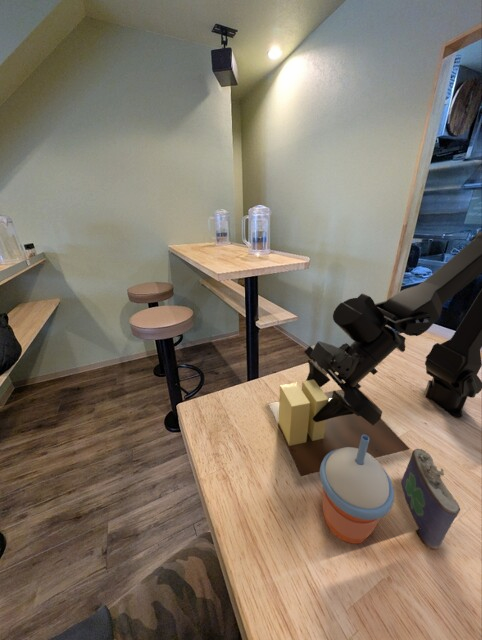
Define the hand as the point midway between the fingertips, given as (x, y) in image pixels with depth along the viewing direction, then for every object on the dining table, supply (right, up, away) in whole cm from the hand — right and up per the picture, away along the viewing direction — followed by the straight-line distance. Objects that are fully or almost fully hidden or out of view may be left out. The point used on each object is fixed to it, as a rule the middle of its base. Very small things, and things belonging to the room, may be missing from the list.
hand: (306, 408), depth 50 cm
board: (+6, -6, +4) cm, 9 cm away
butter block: (-3, -5, +2) cm, 6 cm away
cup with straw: (+3, -13, -12) cm, 18 cm away
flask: (+14, -12, -11) cm, 22 cm away
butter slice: (+2, -5, +3) cm, 6 cm away
